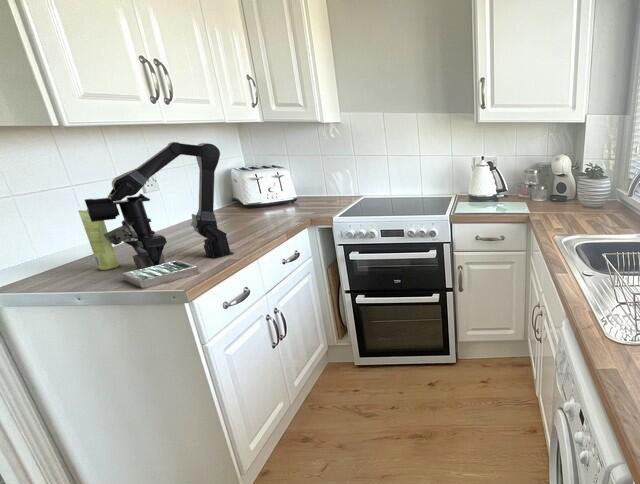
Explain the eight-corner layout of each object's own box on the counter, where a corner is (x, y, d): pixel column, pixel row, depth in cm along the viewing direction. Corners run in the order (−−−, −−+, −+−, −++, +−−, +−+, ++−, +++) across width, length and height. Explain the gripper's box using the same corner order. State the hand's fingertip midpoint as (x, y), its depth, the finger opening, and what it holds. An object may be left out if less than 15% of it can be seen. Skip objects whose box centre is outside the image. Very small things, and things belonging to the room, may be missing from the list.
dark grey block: (160, 264, 142) (156, 250, 140) (166, 266, 140) (162, 252, 138) (137, 270, 137) (132, 255, 135) (143, 272, 134) (138, 257, 133)
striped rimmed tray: (180, 266, 139) (177, 259, 138) (198, 273, 133) (196, 266, 132) (124, 280, 127) (121, 273, 126) (142, 288, 121) (139, 280, 120)
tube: (121, 264, 142) (102, 207, 136) (121, 267, 139) (100, 210, 132) (99, 267, 139) (78, 210, 132) (98, 271, 135) (76, 212, 129)
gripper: (91, 218, 130) (108, 265, 135) (114, 225, 121) (131, 275, 126) (135, 211, 139) (149, 255, 144) (160, 217, 130) (174, 264, 135)
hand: (150, 262), depth 137 cm, fingers open, 9 cm apart
